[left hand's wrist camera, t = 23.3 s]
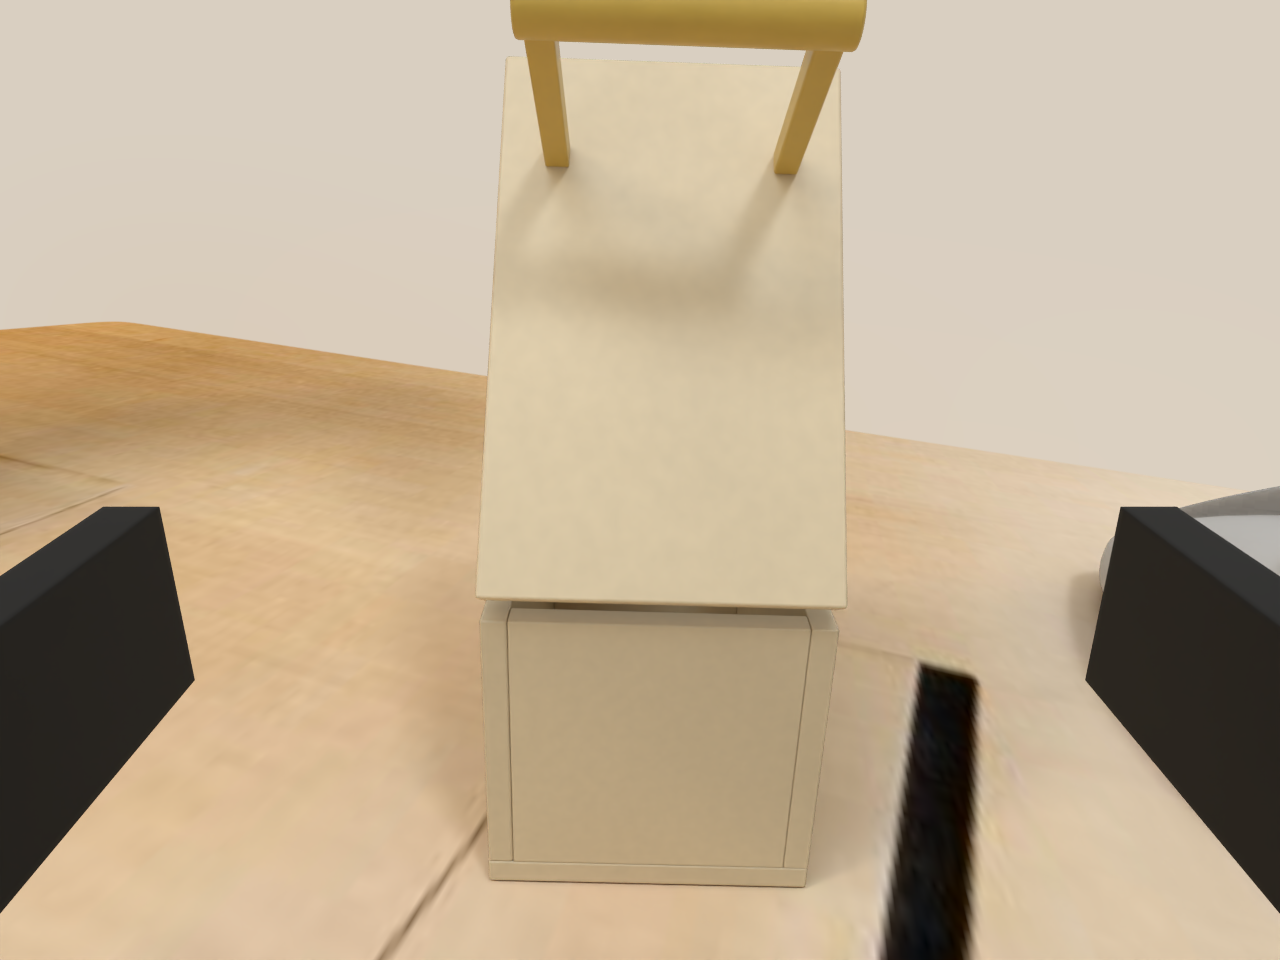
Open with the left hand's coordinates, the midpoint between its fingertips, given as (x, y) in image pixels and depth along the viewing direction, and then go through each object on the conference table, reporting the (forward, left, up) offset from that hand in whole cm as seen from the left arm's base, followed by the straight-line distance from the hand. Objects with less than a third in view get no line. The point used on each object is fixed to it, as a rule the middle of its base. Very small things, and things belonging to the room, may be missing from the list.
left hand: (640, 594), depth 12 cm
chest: (+15, -10, -16) cm, 24 cm away
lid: (+12, -9, 0) cm, 15 cm away
